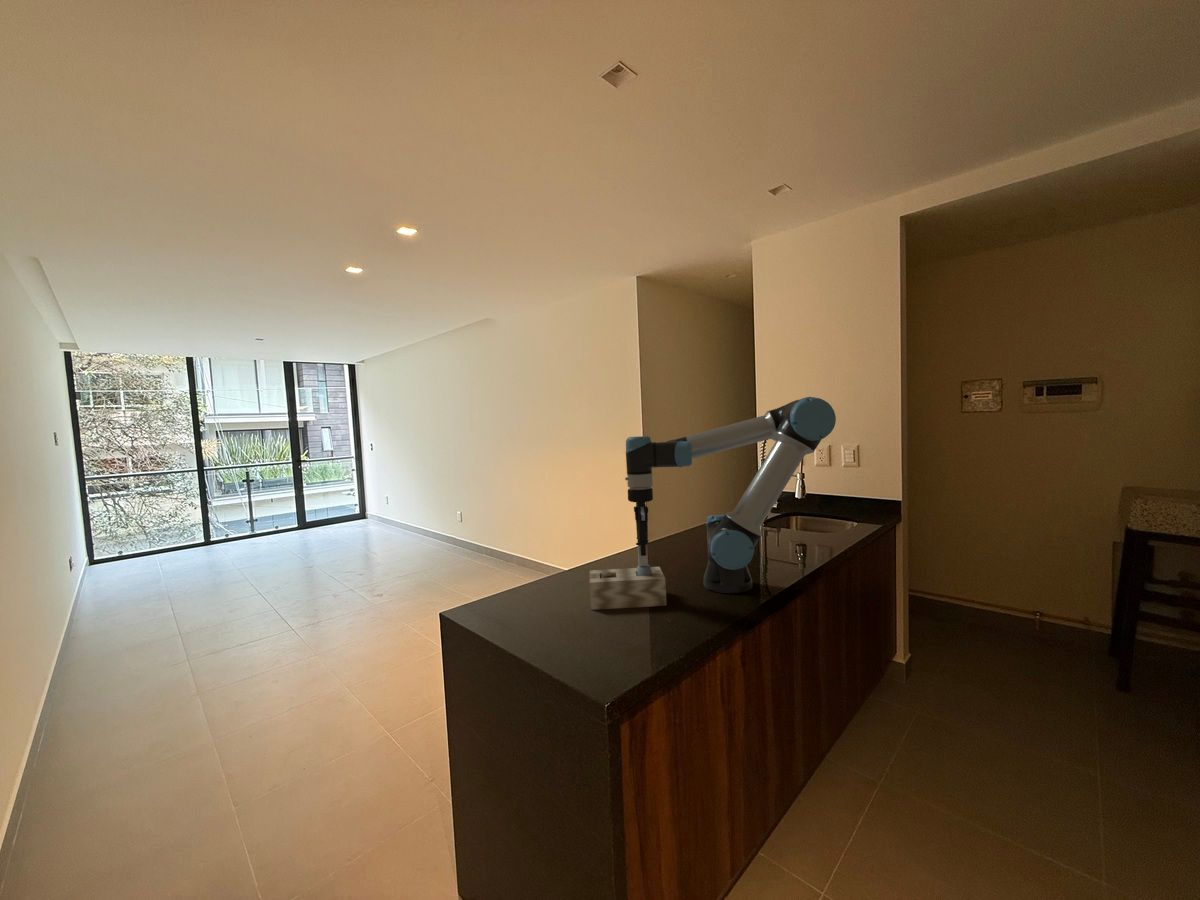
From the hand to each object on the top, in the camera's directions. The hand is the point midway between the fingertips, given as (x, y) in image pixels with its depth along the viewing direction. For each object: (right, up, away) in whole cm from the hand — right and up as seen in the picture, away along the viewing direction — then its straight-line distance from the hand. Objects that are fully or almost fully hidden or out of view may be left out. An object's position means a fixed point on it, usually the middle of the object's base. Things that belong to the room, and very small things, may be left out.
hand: (643, 565), depth 144 cm
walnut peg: (-10, -11, 0) cm, 15 cm away
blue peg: (+1, -8, 0) cm, 8 cm away
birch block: (-5, -11, 0) cm, 12 cm away
